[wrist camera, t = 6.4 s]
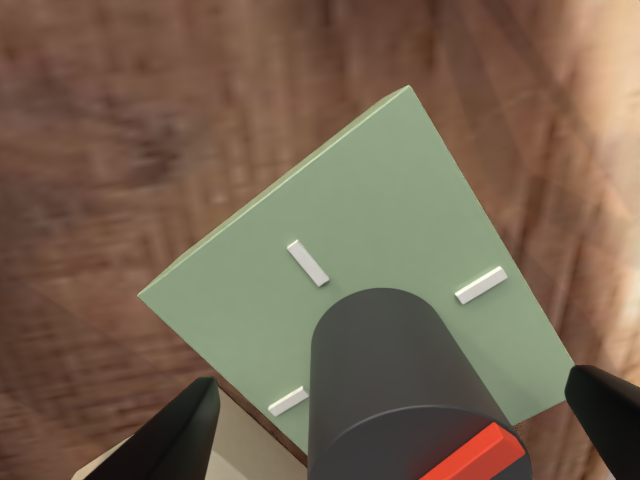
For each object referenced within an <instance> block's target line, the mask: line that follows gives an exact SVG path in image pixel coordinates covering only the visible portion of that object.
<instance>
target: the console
mask: <svg viewBox="0 0 640 480" xmlns="http://www.w3.org/2000/svg"><path fill="white" fill-rule="evenodd" d="M371 288H394V289H399V290H404V291H407V292H410V293H412V294H414V295H416V296H418V297H420V298H422V299H423V300H425V301H426V302H427V303H428V304H429V305H431V306H432V307H433V308H434V310H435V311H436V312H437V313H438V315H439V316H440V318H441V319H442V321H443V322H444V324H445V325H446V327H447V328H448V330H449V331H450V333H451V334H452V336H453V338H454V339H455V341H456V342H457V344H458V345H459V347H460V348H461V350H462V351H463V353H464V354H465V356H466V357H467V359H468V360H469V362H470V363H471V365H472V366H473V368H474V369H475V371H476V372H477V374H478V375H479V377H480V378H481V380H482V381H483V383H484V384H485V386H486V387H487V389H488V390H489V392H490V393H491V395H492V396H493V398H494V399H495V401H496V403H497V404H498V406H499V407H500V409H501V410H502V412H503V413H504V415H505V416H506V418H507V419H508V421H509V422H510V424H511V425H512V426H514V425H516V424H518V423H520V422H522V421H524V420H526V419H528V418H530V417H532V416H534V415H536V414H538V413H540V412H542V411H544V410H546V409H548V408H550V407H552V406H554V405H556V404H558V403H560V402H562V401H565V400H566V398H565V394H564V390H565V386H566V383H567V379H568V376H569V372H570V369H571V368H572V367H573V366H575V364H574V362H573V361H572V359H571V357H570V355H569V354H568V352H567V350H566V349H565V347H564V345H563V344H562V342H561V340H560V339H559V337H558V335H557V333H556V332H555V330H554V328H553V327H552V325H551V323H550V322H549V320H548V318H547V316H546V315H545V313H544V311H543V310H542V308H541V306H540V305H539V303H538V301H537V299H536V298H535V296H534V294H533V293H532V291H531V289H530V288H529V286H528V284H527V283H526V281H525V279H524V277H523V276H522V274H521V272H520V271H519V269H518V267H517V266H516V264H515V262H514V260H513V259H512V257H511V255H510V254H509V252H508V250H507V249H506V247H505V245H504V243H503V242H502V240H501V238H500V237H499V235H498V233H497V232H496V230H495V228H494V227H493V225H492V223H491V221H490V220H489V218H488V216H487V215H486V213H485V211H484V210H483V208H482V206H481V204H480V203H479V201H478V199H477V198H476V196H475V194H474V193H473V191H472V189H471V187H470V186H469V184H468V182H467V181H466V179H465V177H464V176H463V174H462V172H461V171H460V169H459V167H458V165H457V164H456V162H455V160H454V159H453V157H452V155H451V154H450V152H449V150H448V148H447V147H446V145H445V143H444V142H443V140H442V138H441V137H440V135H439V133H438V131H437V130H436V128H435V126H434V125H433V123H432V121H431V120H430V118H429V116H428V115H427V113H426V111H425V109H424V108H423V106H422V104H421V103H420V101H419V99H418V98H417V96H416V94H415V92H414V91H413V89H412V87H411V86H410V85H407V86H405V87H403V88H401V89H399V90H397V91H395V92H393V93H391V94H389V95H387V96H385V97H383V98H382V99H380V100H379V101H378V102H377V103H375V104H374V105H373V106H371V107H370V108H369V109H368V110H366V111H365V112H364V113H362V114H361V115H360V116H359V117H357V118H356V119H355V120H353V121H352V122H351V123H350V124H348V125H347V126H346V127H345V128H343V129H342V130H341V131H339V132H338V133H337V134H336V135H334V136H333V137H332V138H330V139H329V140H328V141H327V142H325V143H324V144H323V145H321V146H320V147H319V148H318V149H316V150H315V151H314V152H313V153H311V154H310V155H309V156H307V157H306V158H305V159H304V160H302V161H301V162H300V163H298V164H297V165H296V166H295V167H293V168H292V169H291V170H289V171H288V172H287V173H286V174H284V175H283V176H282V177H281V178H279V179H278V180H277V181H275V182H274V183H273V184H272V185H270V186H269V187H268V188H266V189H265V190H264V191H263V192H261V193H260V194H259V195H257V196H256V197H255V198H254V199H252V200H251V201H250V202H248V203H247V204H246V205H245V206H243V207H242V208H241V209H240V210H238V211H237V212H236V213H234V214H233V215H232V216H231V217H229V218H228V219H227V220H225V221H224V222H223V223H222V224H220V225H219V226H218V227H216V228H215V229H214V230H213V231H211V232H210V233H209V234H208V235H206V236H205V237H204V238H202V239H201V240H200V241H199V242H197V243H196V244H195V245H193V246H192V247H191V248H190V249H188V250H187V251H186V252H184V253H183V254H182V255H181V256H179V257H178V258H177V259H176V260H175V261H174V262H173V263H172V264H171V265H170V266H169V267H167V268H166V269H165V270H164V271H163V272H162V273H161V274H160V275H159V276H158V277H156V278H155V279H154V280H153V281H152V282H151V283H150V284H149V285H148V286H147V287H145V288H144V289H143V290H142V291H141V292H140V293H139V294H138V298H139V299H140V300H141V301H143V302H144V303H145V304H146V305H147V306H148V307H149V308H150V309H151V310H152V311H153V312H154V313H155V314H156V315H157V316H159V317H160V318H161V319H162V320H163V321H164V322H165V323H166V324H167V325H168V326H169V327H170V328H171V329H172V330H174V331H175V332H176V333H177V334H178V335H179V336H180V337H181V338H182V339H183V340H184V341H185V342H186V343H187V344H189V345H190V346H191V347H192V348H193V349H194V350H195V351H196V352H197V353H198V354H199V355H200V356H201V357H202V358H203V359H205V360H206V361H207V362H208V363H209V364H210V365H211V366H212V367H213V368H214V369H215V370H216V371H217V372H218V373H220V374H221V375H222V376H223V377H224V378H225V379H226V380H227V381H228V382H229V383H230V384H231V385H232V386H233V387H234V388H236V389H237V390H238V391H239V392H240V393H241V394H242V395H243V396H244V397H245V398H246V399H247V400H248V401H249V402H251V403H252V404H253V405H254V406H255V407H256V408H257V409H258V410H259V411H260V412H261V413H262V414H263V415H264V416H266V417H267V418H268V419H269V420H270V421H271V422H272V423H273V424H274V425H275V426H276V427H277V428H278V429H279V430H280V431H282V432H283V433H284V434H285V435H286V436H287V437H288V438H289V439H290V440H291V441H292V442H293V443H294V444H295V445H297V446H298V447H299V448H300V449H301V450H302V451H303V452H304V453H305V454H306V455H307V456H308V430H309V395H310V360H311V341H312V336H313V332H314V330H315V327H316V325H317V323H318V322H319V320H320V318H321V317H322V316H323V315H324V313H325V312H326V311H327V310H328V309H329V308H330V307H331V306H332V305H334V304H335V303H336V302H338V301H339V300H341V299H342V298H344V297H346V296H348V295H350V294H353V293H355V292H358V291H362V290H365V289H371Z"/></svg>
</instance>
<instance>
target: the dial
mask: <svg viewBox="0 0 640 480" xmlns="http://www.w3.org/2000/svg"><path fill="white" fill-rule="evenodd" d="M307 480H532V466H531V460H530V457H529V454H528V451H527V449H526V447H525V445H524V444H523V442H522V440H521V439H520V437H519V436H518V434H517V433H516V431H515V430H514V428H513V427H512V425H511V424H510V422H509V421H508V419H507V418H506V416H505V415H504V413H503V412H502V410H501V409H500V407H499V406H498V404H497V403H496V401H495V399H494V398H493V396H492V395H491V393H490V392H489V390H488V389H487V387H486V386H485V384H484V383H483V381H482V380H481V378H480V377H479V375H478V374H477V372H476V371H475V369H474V368H473V366H472V365H471V363H470V362H469V360H468V359H467V357H466V356H465V354H464V353H463V351H462V350H461V348H460V347H459V345H458V344H457V342H456V341H455V339H454V338H453V336H452V334H451V333H450V331H449V330H448V328H447V327H446V325H445V324H444V322H443V321H442V319H441V318H440V316H439V315H438V313H437V312H436V311H435V310H434V308H433V307H432V306H431V305H429V304H428V303H427V302H426V301H425V300H423V299H422V298H420V297H418V296H416V295H414V294H412V293H410V292H407V291H404V290H399V289H394V288H371V289H365V290H362V291H358V292H355V293H353V294H350V295H348V296H346V297H344V298H342V299H341V300H339V301H338V302H336V303H335V304H334V305H332V306H331V307H330V308H329V309H328V310H327V311H326V312H325V313H324V315H323V316H322V317H321V318H320V320H319V322H318V323H317V325H316V327H315V330H314V332H313V336H312V341H311V360H310V395H309V430H308V465H307Z"/></svg>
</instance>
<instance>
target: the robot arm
mask: <svg viewBox="0 0 640 480" xmlns="http://www.w3.org/2000/svg"><path fill="white" fill-rule="evenodd" d="M564 394H565V398H566V400H567V402H568V404H569V406H570V407H571V409H572V411H573V412H574V414H575V415H576V417H577V419H578V420H579V422H580V424H581V425H582V427H583V429H584V430H585V432H586V434H587V435H588V437H589V438H590V440H591V442H592V443H593V445H594V447H595V448H596V450H597V452H598V453H599V455H600V456H601V458H602V459H603V461H604V463H605V464H606V466H607V467H608V469H609V470H610V472H611V473H612V474H613V476H614V477H615V478H616V480H640V387H638V386H636V385H633V384H631V383H629V382H627V381H625V380H623V379H621V378H618V377H616V376H614V375H612V374H610V373H608V372H605V371H603V370H601V369H599V368H597V367H595V366H592V365H575V366H573V367H572V368H571V369H570V372H569V376H568V379H567V383H566V386H565V390H564ZM220 406H221V402H220V396H219V390H218V384H217V380H216V378H215V377H199V378H197V379H196V380H195V381H194V382H193V383H191V384H190V385H189V386H188V387H187V388H186V389H185V390H183V391H182V392H181V393H180V394H179V395H178V396H177V397H176V398H174V399H173V400H172V401H171V402H170V403H169V404H168V405H166V406H165V407H164V408H163V409H162V410H161V411H160V412H159V413H157V414H156V415H155V416H154V417H153V418H152V419H151V420H149V421H148V422H147V423H146V424H145V425H144V426H143V427H142V428H140V429H139V430H138V431H137V432H136V433H135V434H134V435H132V436H131V437H130V438H129V439H128V440H127V441H126V442H125V443H123V444H122V445H121V446H120V447H119V448H118V449H117V450H115V451H114V452H113V453H112V454H111V455H110V456H109V457H108V458H106V459H105V460H104V461H103V462H102V463H101V464H100V465H98V466H97V467H96V468H95V469H94V470H93V471H92V472H91V473H89V474H88V475H87V476H86V477H85V478H84V479H83V480H205V477H206V472H207V468H208V464H209V459H210V455H211V450H212V446H213V441H214V436H215V432H216V427H217V423H218V418H219V414H220Z"/></svg>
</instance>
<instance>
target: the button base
mask: <svg viewBox="0 0 640 480" xmlns="http://www.w3.org/2000/svg"><path fill="white" fill-rule="evenodd" d="M218 390H219V396H220V402H221V406H220V414H219V418H218V423H217V427H216V432H215V436H214V441H213V446H212V450H211V455H210V459H209V464H208V468H207V472H206V477H205V480H307V468H306V467H305V466H304V465H303V464H302V463H301V462H300V461H299V460H298V459H297V458H296V457H294V456H293V455H292V454H291V453H290V452H289V451H288V450H287V449H286V448H285V447H284V446H282V445H281V444H280V443H279V442H278V441H277V440H276V439H275V438H274V437H273V436H272V435H270V434H269V433H268V432H267V431H266V430H265V429H264V428H263V427H262V426H261V425H260V424H258V423H257V422H256V421H255V420H254V419H253V418H252V417H251V416H250V415H249V414H248V413H246V412H245V411H244V410H243V409H242V408H241V407H240V406H239V405H238V404H237V403H236V402H235V401H233V400H232V399H231V398H230V397H229V396H228V395H227V394H226V393H225V392H224V391H223V390H221V389H220V388H219V387H218ZM134 434H135V433H134ZM134 434H133V435H134ZM131 436H132V435H131ZM131 436H130V437H131ZM130 437H128V438H127V439H125V440H124V441H122V442H121V443H119V444H118V445H116V446H115V447H113V448H112V449H110V450H109V451H107V452H106V453H104V454H102V455H101V456H99V457H98V458H96V459H95V460H93V461H92V462H90V463H89V464H87V465H86V466H84V467H83V468H81V469H80V470H78V471H77V472H76V473H75V475H74V476H73V478H72V479H71V480H83V479H84V478H85V477H86V476H87V475H88V474H89V473H91V472H92V471H93V470H94V469H95V468H96V467H97V466H98V465H100V464H101V463H102V462H103V461H104V460H105V459H106V458H108V457H109V456H110V455H111V454H112V453H113V452H114V451H115V450H117V449H118V448H119V447H120V446H121V445H122V444H123V443H125V442H126V441H127V440H128V439H129V438H130Z"/></svg>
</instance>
